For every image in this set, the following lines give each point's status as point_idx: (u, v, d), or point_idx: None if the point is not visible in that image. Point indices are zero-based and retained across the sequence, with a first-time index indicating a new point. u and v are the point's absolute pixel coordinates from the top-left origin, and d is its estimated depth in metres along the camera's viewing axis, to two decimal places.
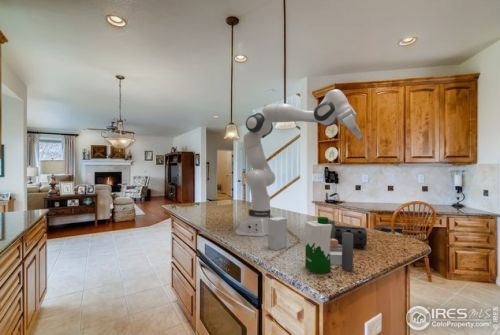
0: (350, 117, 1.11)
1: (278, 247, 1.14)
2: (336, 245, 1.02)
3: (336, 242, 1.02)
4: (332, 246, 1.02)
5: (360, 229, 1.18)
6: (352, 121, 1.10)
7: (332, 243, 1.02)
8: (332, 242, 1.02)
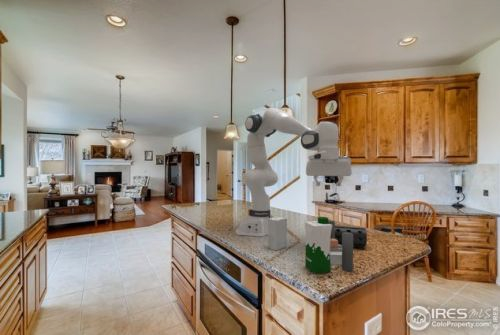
0: (308, 163, 1.08)
1: (278, 247, 1.14)
2: (336, 245, 1.02)
3: (336, 242, 1.02)
4: (332, 246, 1.02)
5: (360, 229, 1.18)
6: (307, 168, 1.08)
7: (332, 243, 1.02)
8: (332, 242, 1.02)
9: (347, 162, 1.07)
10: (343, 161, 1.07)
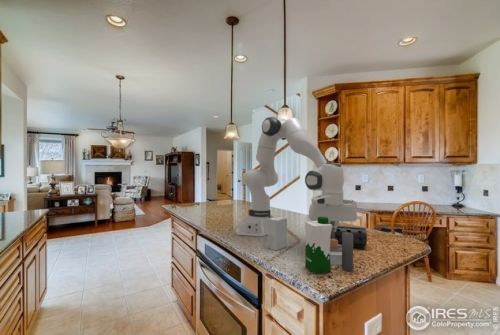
0: (311, 208, 1.02)
1: (278, 247, 1.14)
2: (336, 245, 1.02)
3: (336, 242, 1.02)
4: (332, 246, 1.02)
5: (360, 229, 1.18)
6: (310, 213, 1.02)
7: (332, 243, 1.02)
8: (332, 242, 1.02)
9: (352, 207, 1.01)
10: (348, 206, 1.01)
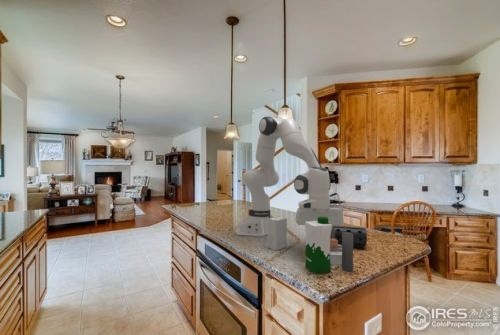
0: (297, 212, 1.02)
1: (278, 247, 1.14)
2: (336, 245, 1.02)
3: (336, 242, 1.02)
4: (332, 246, 1.02)
5: (360, 229, 1.18)
6: (296, 217, 1.02)
7: (332, 243, 1.02)
8: (332, 242, 1.02)
9: (339, 211, 1.01)
10: (334, 210, 1.01)
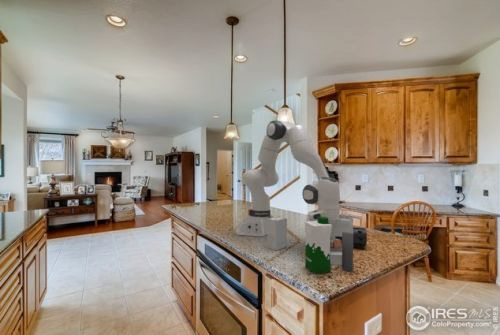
0: None
1: (278, 247, 1.14)
2: (339, 245, 1.01)
3: (339, 242, 1.02)
4: (335, 246, 1.02)
5: (360, 229, 1.18)
6: None
7: (335, 243, 1.02)
8: (335, 242, 1.02)
9: (349, 222, 1.01)
10: (344, 221, 1.01)
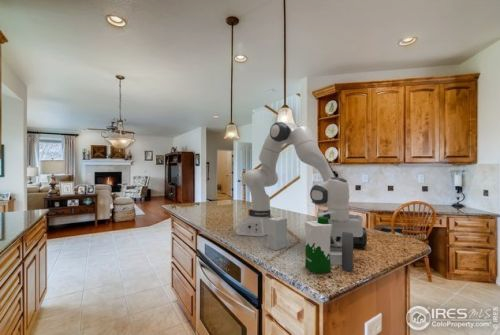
0: None
1: (278, 247, 1.14)
2: None
3: None
4: None
5: None
6: None
7: None
8: None
9: (358, 222, 1.01)
10: (354, 221, 1.01)
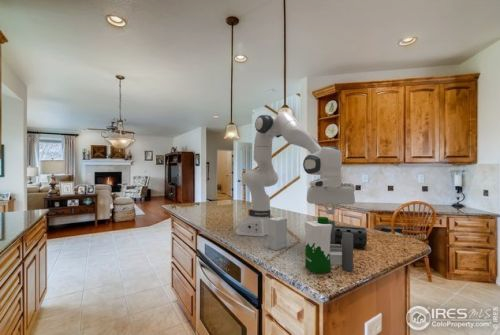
0: (309, 191, 1.03)
1: (278, 247, 1.14)
2: None
3: None
4: None
5: (360, 229, 1.18)
6: (308, 196, 1.03)
7: None
8: None
9: (350, 190, 1.02)
10: (346, 189, 1.02)
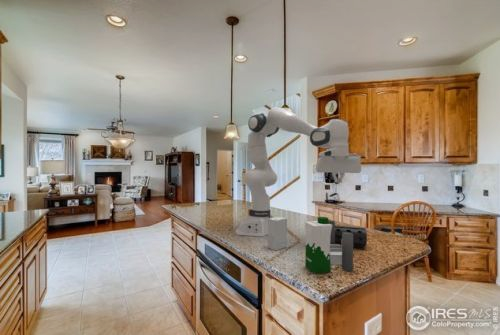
0: (318, 160, 1.10)
1: (278, 247, 1.14)
2: None
3: None
4: None
5: (360, 229, 1.18)
6: (317, 165, 1.10)
7: None
8: None
9: (357, 159, 1.09)
10: (353, 158, 1.09)
